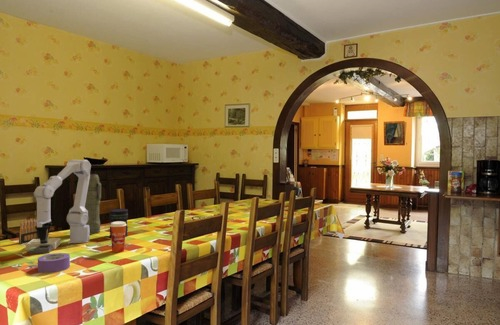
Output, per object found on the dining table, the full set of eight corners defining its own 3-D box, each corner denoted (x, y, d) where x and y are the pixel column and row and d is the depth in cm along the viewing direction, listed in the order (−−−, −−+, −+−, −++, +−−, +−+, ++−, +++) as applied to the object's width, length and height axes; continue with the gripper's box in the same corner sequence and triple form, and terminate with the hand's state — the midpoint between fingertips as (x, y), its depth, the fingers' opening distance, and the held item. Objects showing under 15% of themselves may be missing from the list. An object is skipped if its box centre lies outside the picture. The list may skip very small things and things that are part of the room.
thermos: (96, 234, 209) (96, 174, 208) (78, 233, 211) (78, 174, 210) (105, 231, 218) (105, 174, 217) (88, 230, 220) (88, 173, 219)
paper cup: (110, 253, 172) (110, 224, 171) (108, 249, 178) (109, 221, 178) (127, 251, 175) (128, 223, 175) (125, 248, 182) (125, 220, 182)
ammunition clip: (21, 244, 186) (21, 221, 186) (18, 243, 187) (18, 220, 187) (40, 239, 196) (40, 217, 196) (37, 239, 197) (37, 217, 197)
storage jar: (105, 236, 205) (105, 210, 205) (118, 233, 214) (118, 208, 214) (119, 238, 202) (119, 212, 201) (131, 234, 211) (131, 209, 210)
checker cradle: (52, 249, 177) (52, 244, 177) (48, 252, 171) (48, 247, 171) (32, 250, 175) (32, 245, 175) (27, 253, 169) (27, 248, 169)
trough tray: (60, 243, 188) (60, 238, 188) (55, 249, 178) (55, 243, 178) (32, 245, 185) (32, 239, 185) (25, 250, 175) (25, 244, 175)
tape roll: (31, 269, 148) (31, 257, 148) (59, 262, 158) (59, 251, 158) (47, 275, 142) (47, 262, 142) (75, 267, 152) (75, 255, 151)
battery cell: (48, 241, 175) (48, 226, 175) (46, 243, 172) (46, 227, 172) (41, 242, 175) (41, 226, 174) (39, 243, 171) (39, 228, 171)
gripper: (39, 208, 179) (39, 235, 179) (29, 213, 165) (29, 243, 165) (54, 208, 181) (55, 235, 181) (46, 213, 167) (46, 242, 167)
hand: (43, 239), depth 173 cm, fingers closed on battery cell, 3 cm apart
